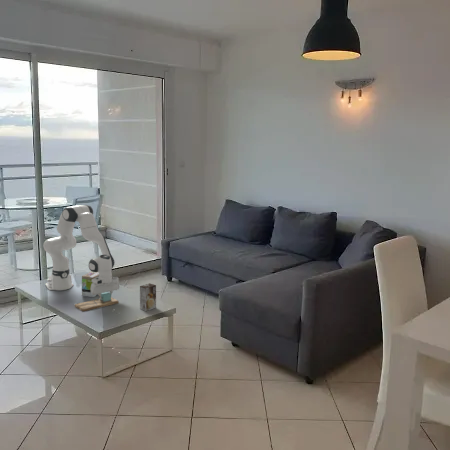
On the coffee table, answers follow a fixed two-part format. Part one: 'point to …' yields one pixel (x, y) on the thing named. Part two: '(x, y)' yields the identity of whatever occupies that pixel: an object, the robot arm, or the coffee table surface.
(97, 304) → the board
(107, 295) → the block
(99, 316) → the coffee table surface
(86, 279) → the tea box
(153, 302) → the coffee box
